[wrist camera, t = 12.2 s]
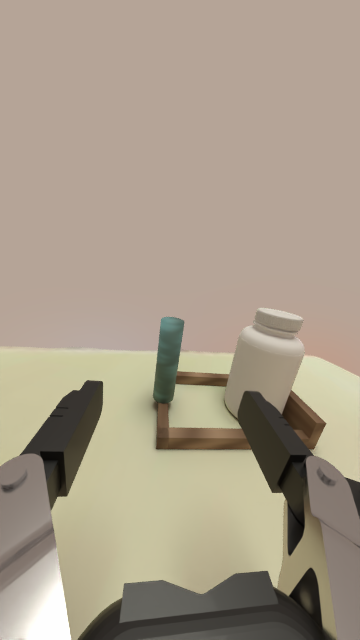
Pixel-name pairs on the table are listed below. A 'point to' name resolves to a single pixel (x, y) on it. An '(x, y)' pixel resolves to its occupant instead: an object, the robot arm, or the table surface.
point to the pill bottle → (266, 359)
